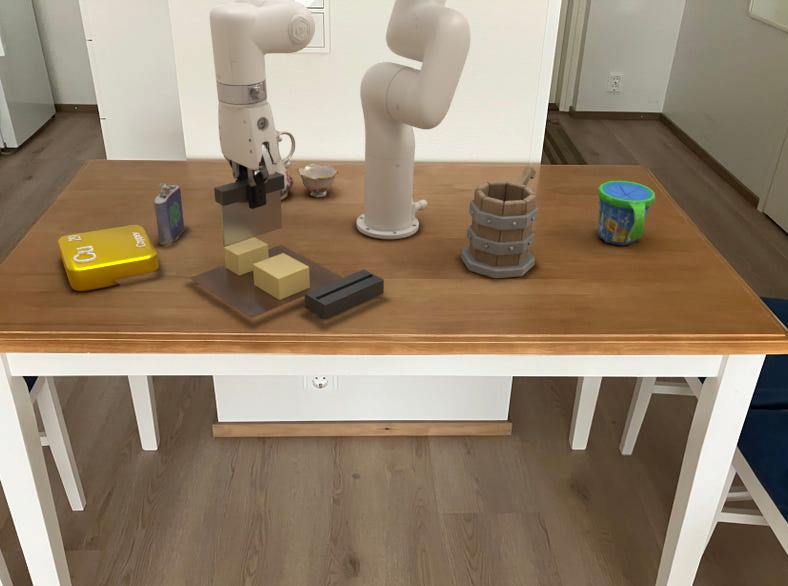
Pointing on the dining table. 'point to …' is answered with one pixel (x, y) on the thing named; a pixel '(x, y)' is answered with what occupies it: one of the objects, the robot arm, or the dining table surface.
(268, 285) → the butter
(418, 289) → the dining table surface
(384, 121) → the robot arm
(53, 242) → the dining table surface
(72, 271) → the element tile
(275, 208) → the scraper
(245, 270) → the butter slice
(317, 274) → the cutting board
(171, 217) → the flask
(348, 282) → the scraper stand
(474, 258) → the tankard
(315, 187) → the chinaware
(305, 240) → the dining table surface
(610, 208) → the snack cup
